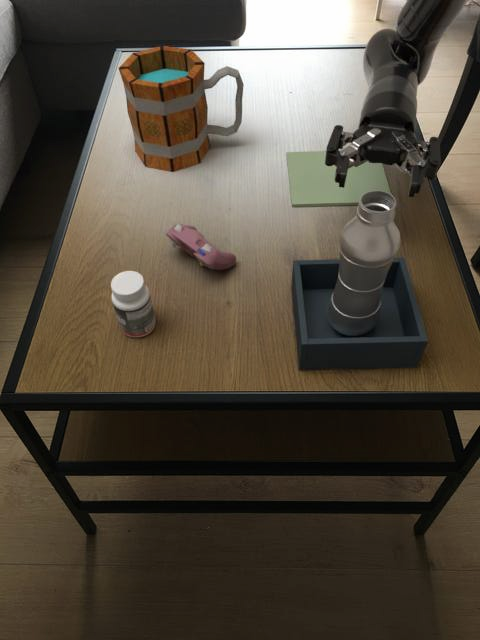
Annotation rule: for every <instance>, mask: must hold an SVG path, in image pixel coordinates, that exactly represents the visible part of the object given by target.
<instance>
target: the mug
mask: <svg viewBox="0 0 480 640" xmlns="http://www.w3.org/2000/svg"><path fill="white" fill-rule="evenodd" d="M118 71H119V75H120V77H121V81H122V83H123V87H124V93H125V100H126V110H127V115H128V119H129V121H130V126H131V128H132V133H133V138H134V140H133V141H134V152H135V153H136V154H137V156H138V158H139V160H140V161H141V162H142V164H143V166H144V167H146V168H150V169H156V170H162V171H167V172H171V173H173V172H176V171H179V170H184V169H185V168H190V167H193V166H196V165H199V164H201V163H202V161H203V160H204V158H205V156H206V155H207V154H208V153H209V152H208V151H209V150H210V148H211V142H210V136H209V135H216V136H217V135H218V136H223V137H230V136H233V135H234V134H236V133H238V131H239V128H240V127H241V124H242V121H243V97H244V87H245V86H244V81H243V79H242V76H241V74H240V71H239V70H238V69H236V68H233V67H232V66H228V65H226V66H224V67H222V68H219V69H217V70H216V71H215V72H214V74H213V75H212V76H211V77H209V78H207V79H205V62H204V61H203V60H202V58H200V57H199V56H198V55H197V54H196V53H195V52H194V51H193V49H191V48H190V49H189V48H182V47H176V46H168V45H160V46H156V47H152V48H148V49H143V50H139V51H135V52H132V53H131V54H130V55H129V57H127V58H126V59H125V61H124V62H122V64H121V65H120V66H119V67H118ZM227 76H229V77H232V78H234V79H235V83H236V91H235V92H236V93H235V99H234V100H235V101H234V103H235V104H234V105H235V107H234V109H235V120H234V122H233V124H232V125H230V126H227V127H225V126H221V125H215V124H208V111H209V106H208V102H207V96H206V90H208V89H212V88H214V87H215V86H216V85H217V83H219V81H220V80H222V79H223V78H225V77H227Z"/></svg>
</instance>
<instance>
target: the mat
mask: <svg viewBox="0 0 480 640" xmlns="http://www.w3.org/2000/svg"><path fill="white" fill-rule="evenodd" d="M285 156H286V165H287V173H288V175H287V176H288V182H289V183H288V184H289V194H290V202H291V207H292V208H300V207H301V208H303V207H307V208H308V207H337V206H338V207H339V206H343V207H344V206H359V200H360V198H361V196H362V195H363V194H364V193H366V192H368V191H372V190H381V191H385V192H388V193H390V194H391V195H392V192H391V188H390V186H389V182H388V178H387V174H386V171H385V168H384V164H382V163H368V162H369V161H367V162H365V163H363V164H361V165H360V166H358V167H355V166H353V167H351V168H349V169H348V172H347V177H346V182H345V186H344V188H342V187H339V183H335V173H336V168H337V167H336V166H335V165H333V166H326V165H325V158H326V150H316V151H315V150H313V151H311V150H309V151H287V152H285Z"/></svg>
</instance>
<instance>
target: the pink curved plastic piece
mask: <svg viewBox="0 0 480 640" xmlns="http://www.w3.org/2000/svg"><path fill="white" fill-rule="evenodd" d="M165 235H166V236H167V237H168V239H169V240H170V241H169V242H168V243H169V245H170V247H172V248H176V246H178V247H180V248H181V249H182V250H183V251H184V252H186V253H187V254H188V255H190V256H191V257H192V258H196V260H197V261H198V262H199V263H198V264H199V266H201V267H204V266H205V267H206V268H207V269H210V270H227V269H230V268H231V267H232V268H233V266H234V265H236V262H237V256H236V254H234V253H233V252H227V251H221V250H220V249H218V248H217V247H215V246H214V244H212V243H211V242H209V240H207V239H206V238H205V237H204V235H203V234H202V233H201V232H200V231H198V229H197V227H195V226H194V225H186V224H183V223H179V222H178V223H176V224H175V225H173V226H171V227H170V228H169V229H168V230H167V232H165Z"/></svg>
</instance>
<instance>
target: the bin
mask: <svg viewBox="0 0 480 640" xmlns="http://www.w3.org/2000/svg"><path fill="white" fill-rule="evenodd" d="M339 265H340V258H338V259H337V258H335V259H334V258H333V259H300V260H299V259H297V260H296V259H295V260H294V259H293V261H292V272H291V285H290V286H291V287H290V288H291V289H290V290H291V299H292V300H291V301H292V308H293V309H292V310H293V311H292V312H293V320H294V332H295V344H296V354H297V364H298V365H297V366H298V371H318V370H320V371H322V370H361V369H366V370H367V369H403V368H404V369H407V368H408V369H410V368H418V367H419V364H420V362H421V360H422V357H423V355H424V352H425V350H426V348H427V347H428V343H429V339H428V334H427V331H426V328H425V325H424V321H423V317H422V314H421V310H420V306H419V303H418V299H417V296H416V292H415V289H414V286H413V282H412V277H411V274H410V271H409V267H408V264H407V260H406V258H405V257H395V258H394V260H393V262H392V264H391V266H390V268H389V270H388V273H387V276H386V278H385V281H384V284H383V289H382V295H381V312H380V317H379V320H378V321H377V323H376V325H375V326H374V328H373V329H372V330H371V331H369V332H368V333H365V334H363V335H360V336H346V335H343V334H341V333H339V332H338V331H336V330H335V329H334V328H333V327H332V326H331V324H330V323H329V320H328V314H327V306H328V303H329V300H330V298H331V296H332V294H333V292H334V289H335V286H336V283H337V279H338V274H339Z"/></svg>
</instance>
